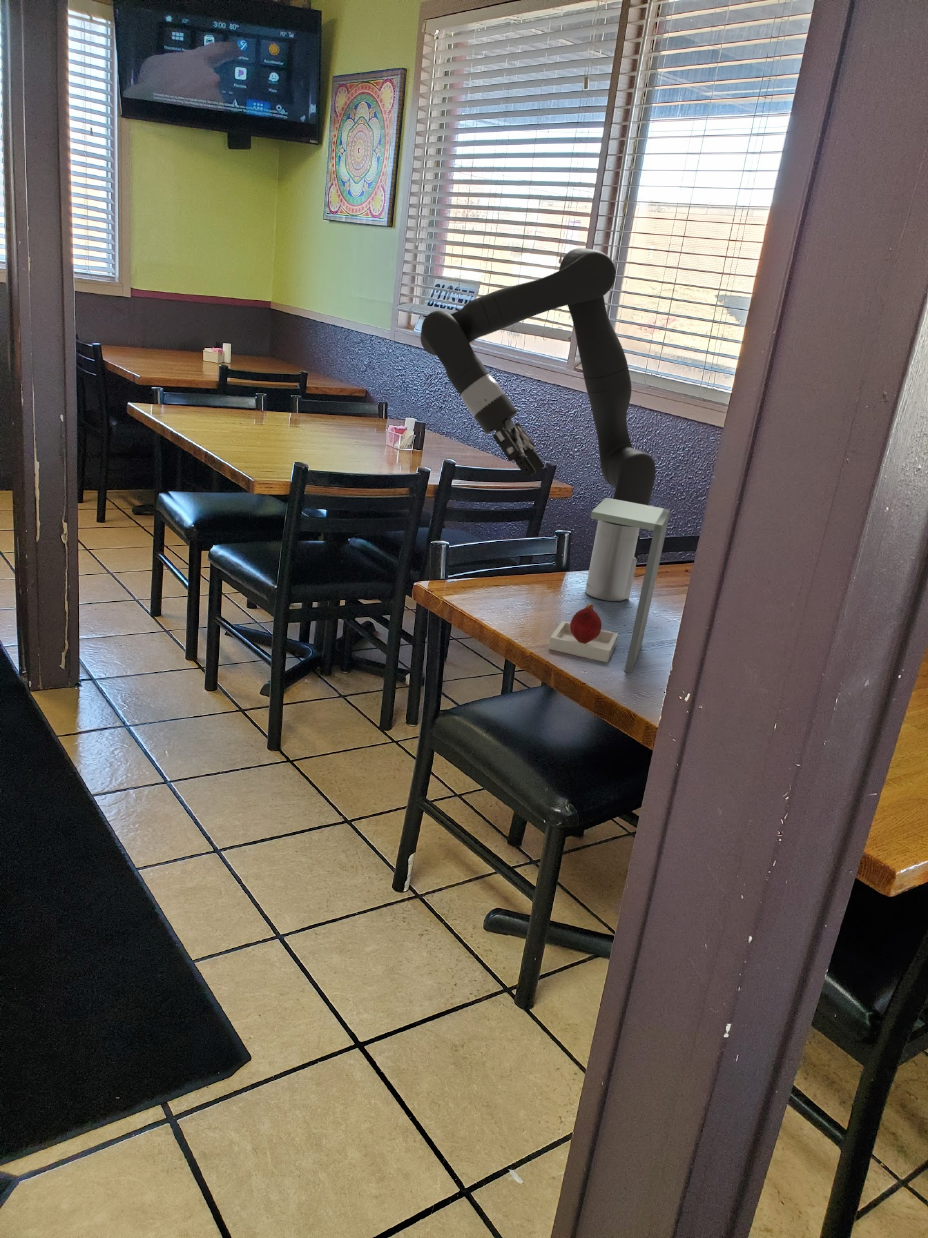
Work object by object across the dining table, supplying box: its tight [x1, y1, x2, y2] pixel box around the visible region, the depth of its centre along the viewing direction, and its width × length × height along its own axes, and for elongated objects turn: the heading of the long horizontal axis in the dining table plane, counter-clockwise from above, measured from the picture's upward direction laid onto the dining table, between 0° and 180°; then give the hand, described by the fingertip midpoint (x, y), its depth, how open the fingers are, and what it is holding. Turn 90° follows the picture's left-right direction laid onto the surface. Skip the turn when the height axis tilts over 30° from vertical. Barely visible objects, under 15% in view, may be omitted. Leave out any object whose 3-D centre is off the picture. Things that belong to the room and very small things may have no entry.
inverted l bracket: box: [590, 497, 671, 674], centre depth 170 cm, size 12×16×27 cm
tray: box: [548, 620, 619, 663], centre depth 175 cm, size 11×11×2 cm
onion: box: [570, 603, 602, 644], centre depth 174 cm, size 6×6×8 cm
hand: (536, 472), depth 182 cm, fingers open, 8 cm apart
